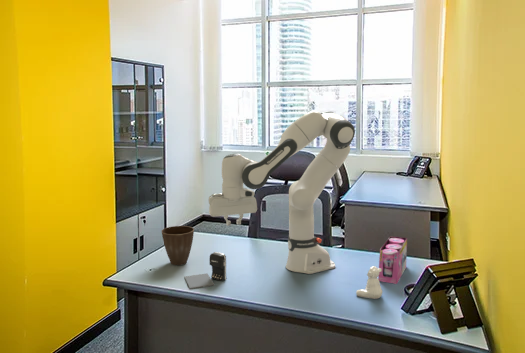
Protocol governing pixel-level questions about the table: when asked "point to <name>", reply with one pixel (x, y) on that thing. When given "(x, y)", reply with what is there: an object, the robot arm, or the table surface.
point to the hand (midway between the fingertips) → (233, 224)
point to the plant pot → (178, 243)
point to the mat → (199, 281)
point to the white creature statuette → (371, 285)
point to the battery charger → (218, 266)
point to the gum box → (392, 259)
